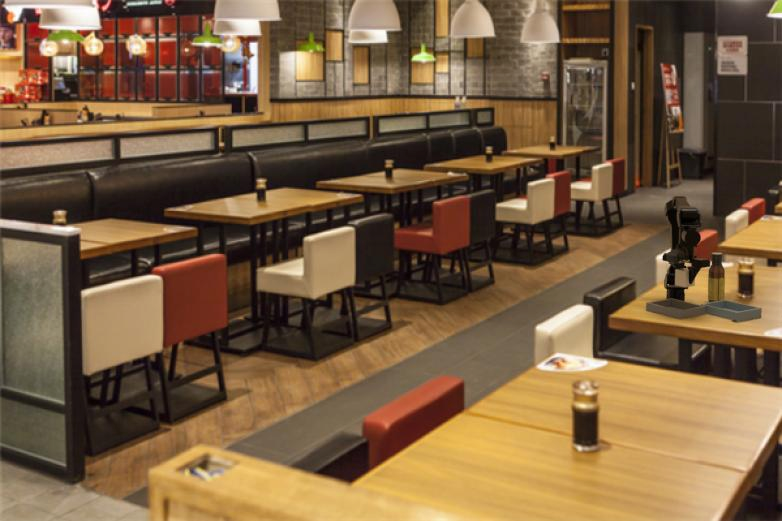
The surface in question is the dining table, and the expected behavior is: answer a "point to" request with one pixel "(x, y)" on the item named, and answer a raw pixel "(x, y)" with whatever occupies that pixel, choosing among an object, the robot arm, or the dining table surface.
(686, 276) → the stone block
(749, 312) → the bin
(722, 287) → the sauce bottle
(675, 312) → the bin
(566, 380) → the dining table surface
